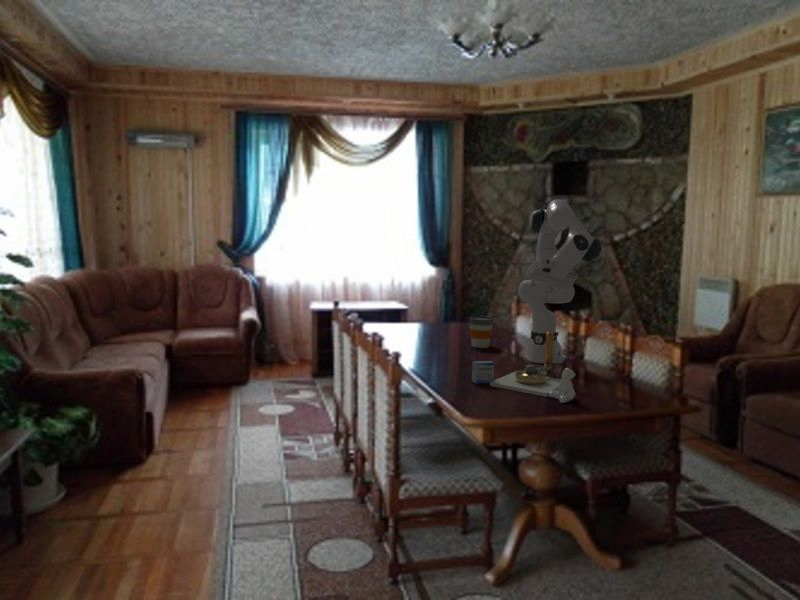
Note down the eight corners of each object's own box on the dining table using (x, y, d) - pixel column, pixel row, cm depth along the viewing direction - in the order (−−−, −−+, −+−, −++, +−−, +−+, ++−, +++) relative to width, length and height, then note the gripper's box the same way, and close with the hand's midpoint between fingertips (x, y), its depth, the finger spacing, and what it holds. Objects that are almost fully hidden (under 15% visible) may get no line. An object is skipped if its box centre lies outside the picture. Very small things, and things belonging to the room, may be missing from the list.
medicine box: (475, 384, 248) (476, 363, 247) (471, 381, 252) (472, 360, 251) (493, 383, 250) (494, 362, 249) (489, 380, 254) (490, 360, 253)
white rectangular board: (515, 374, 265) (516, 356, 264) (569, 384, 251) (570, 365, 250) (489, 385, 246) (490, 366, 245) (546, 397, 232) (547, 376, 231)
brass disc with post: (535, 386, 240) (538, 340, 237) (509, 380, 248) (511, 336, 245) (562, 377, 255) (564, 334, 253) (536, 372, 264) (539, 330, 261)
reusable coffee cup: (486, 349, 316) (487, 321, 314) (464, 346, 322) (465, 318, 320) (495, 345, 326) (497, 318, 324) (474, 342, 333) (475, 315, 331)
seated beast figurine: (546, 396, 233) (548, 365, 231) (565, 394, 236) (567, 364, 234) (561, 403, 224) (563, 371, 222) (581, 401, 227) (583, 370, 226)
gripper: (579, 268, 251) (560, 289, 260) (536, 254, 245) (518, 276, 255) (582, 280, 246) (562, 300, 256) (538, 266, 241) (520, 287, 251)
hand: (540, 288), depth 256 cm, fingers open, 8 cm apart
